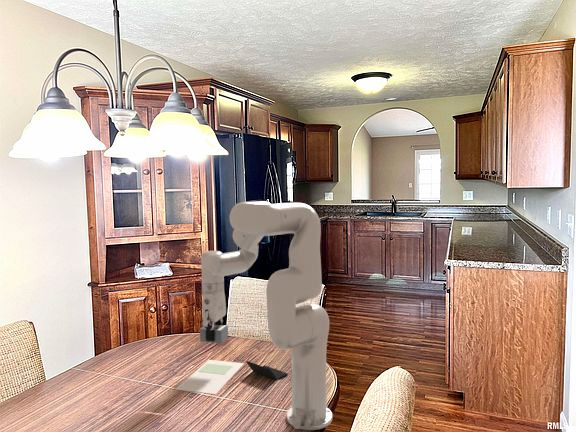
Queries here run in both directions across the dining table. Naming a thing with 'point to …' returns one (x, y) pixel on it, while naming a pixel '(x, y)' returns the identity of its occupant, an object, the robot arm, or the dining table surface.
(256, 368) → the handheld gaming console
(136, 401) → the dining table surface
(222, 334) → the card box
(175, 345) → the dining table surface
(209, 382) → the mat
